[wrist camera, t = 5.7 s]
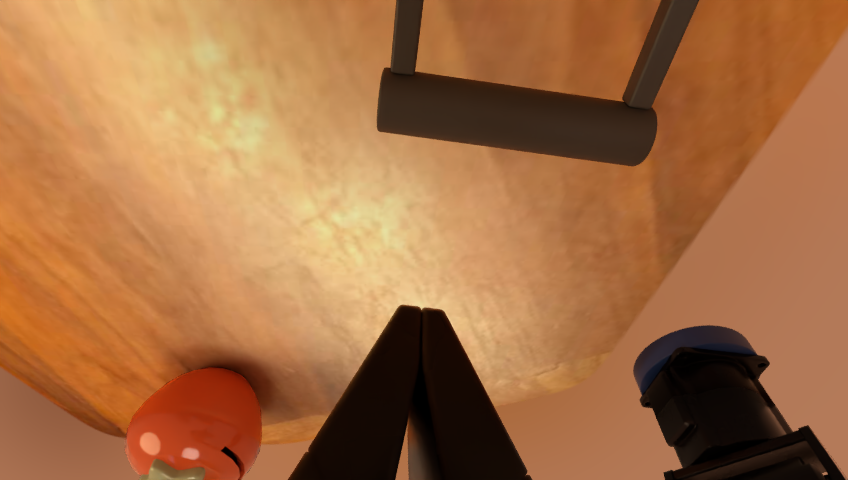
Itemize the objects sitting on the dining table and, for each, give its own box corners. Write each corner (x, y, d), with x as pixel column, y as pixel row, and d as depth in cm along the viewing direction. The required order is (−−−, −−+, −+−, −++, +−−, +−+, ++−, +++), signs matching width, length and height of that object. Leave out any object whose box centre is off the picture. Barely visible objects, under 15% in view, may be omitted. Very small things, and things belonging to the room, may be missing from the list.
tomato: (286, 418, 32) (247, 547, 26) (181, 414, 32) (117, 541, 26) (267, 349, 28) (215, 484, 21) (146, 344, 28) (58, 478, 21)
